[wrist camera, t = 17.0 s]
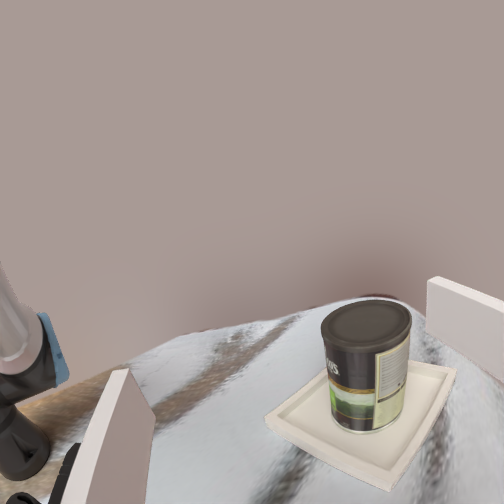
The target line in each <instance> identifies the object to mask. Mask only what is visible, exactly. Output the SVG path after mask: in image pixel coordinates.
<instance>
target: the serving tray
mask: <svg viewBox="0 0 504 504" xmlns="http://www.w3.org/2000/svg"><path fill="white" fill-rule="evenodd" d="M456 374H457V369H454V368H448V367H443V366H438V365H432V364H427V363H422V362H418V361H413V360H408V371H407V380H406V389H405V396H404V407H403V411H402V413H401V415H400V417H399V418H398V419H397V421H396V422H394V423H393V424H392V425H391V426H389V427H388V428H386V429H384V430H382V431H379V432H377V433H372V434H353V433H350V432H347V431H344V430H343V429H341V428H340V427H338V426H337V425H336V424H335V422H334V421H333V419H332V416H331V401H330V390H329V380H328V372H327V367H326V368H325V369H324V370H323V371H321V372H320V373H319V374H318V375H317V376H316V377H314V378H313V379H312V380H311V381H310V382H308V383H307V384H306V385H305V386H304V387H302V388H301V389H300V390H299V391H297V392H296V393H295V394H294V395H292V396H291V397H290V398H288V399H287V400H286V401H285V402H283V403H282V404H281V405H279V406H278V407H277V408H275V409H274V410H273V411H271V412H270V413H268V414H267V415H266V416H264V419H265V422H266V425H267V428H269V429H270V430H272V431H273V432H275V433H276V434H278V435H279V436H281V437H283V438H284V439H286V440H287V441H289V442H291V443H292V444H294V445H295V446H297V447H299V448H300V449H302V450H304V451H306V452H307V453H309V454H311V455H313V456H314V457H316V458H318V459H320V460H322V461H323V462H325V463H327V464H329V465H331V466H333V467H335V468H337V469H339V470H341V471H343V472H345V473H347V474H349V475H351V476H353V477H355V478H357V479H359V480H361V481H364V482H366V483H368V484H370V485H373V486H375V487H377V488H380V489H382V490H385V491H387V492H390V491H391V490H392V489H393V487H394V486H395V485H396V484H397V482H398V481H399V479H400V478H401V477H402V475H403V474H404V473H405V471H406V470H407V468H408V467H409V465H410V464H411V462H412V461H413V459H414V458H415V456H416V455H417V453H418V452H419V450H420V448H421V447H422V445H423V443H424V442H425V440H426V438H427V437H428V435H429V433H430V431H431V430H432V428H433V426H434V424H435V422H436V420H437V418H438V416H439V414H440V412H441V410H442V408H443V406H444V404H445V402H446V400H447V398H448V396H449V394H450V391H451V389H452V387H453V384H454V382H455V378H456Z"/></svg>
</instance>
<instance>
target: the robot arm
mask: <svg viewBox="0 0 504 504" xmlns="http://www.w3.org/2000/svg"><path fill="white" fill-rule="evenodd" d="M425 332H427V333H428V334H430V335H431V336H433V337H434V338H436V339H438V340H439V341H441V342H442V343H444V344H445V345H447V346H448V347H450V348H452V349H453V350H455V351H456V352H458V353H459V354H461V355H462V356H464V357H465V358H467V359H468V360H470V361H472V362H473V363H475V364H476V365H478V366H479V367H481V368H482V369H484V370H485V371H487V372H488V373H490V374H491V375H493V376H494V377H496V378H497V379H499V380H500V381H502V382H503V383H504V302H503V301H501V300H499V299H496V298H494V297H491V296H489V295H486V294H484V293H481V292H479V291H476V290H474V289H471V288H468V287H466V286H463V285H461V284H458V283H456V282H452V281H450V280H447V279H445V278H442V277H439V276H436V277H434V278H432V279H430V280H428V281H427V310H426V326H425ZM68 378H69V370H68V367H67V364H66V363H65V359H64V357H63V355H62V352H61V349H60V346H59V343H58V341H57V338H56V335H55V333H54V330H53V327H52V324H51V321H50V319H49V317H48V315H47V314H46V313H37V314H36V313H35V312H34V311H33V310H32V309H31V308H30V307H29V306H27V305H25V304H23V303H19V301H18V299H17V297H16V295H15V293H14V292H13V289H12V287H11V285H10V283H9V281H8V279H7V277H6V274H5V272H4V270H3V268H2V265H1V263H0V473H1V474H2V475H3V476H4V477H5V478H7V479H9V480H14V481H19V480H24V479H27V478H29V477H31V476H33V475H34V474H35V473H37V472H38V471H39V470H40V469H41V468H42V466H43V465H44V464H45V462H46V460H47V458H48V455H49V451H50V443H49V440H48V438H47V437H46V435H45V434H44V433H43V432H42V430H41V429H40V428H39V427H38V426H37V425H35V424H34V423H33V422H31V421H30V420H29V419H28V418H27V417H26V416H24V415H23V414H22V413H21V412H20V411H19V410H18V409H17V408H16V406H15V405H14V404H15V403H18V402H20V401H23V400H25V399H27V398H30V397H32V396H35V395H37V394H39V393H42V392H44V391H46V390H48V389H51V388H56V387H57V386H58V385H59V384H61V383H63V382H65V381H67V380H68ZM155 420H156V417H155V415H154V413H153V412H152V410H151V408H150V407H149V405H148V403H147V401H146V399H145V398H144V396H143V394H142V392H141V390H140V388H139V387H138V385H137V383H136V381H135V379H134V377H133V375H132V373H131V371H130V369H129V368H128V369H122V370H114V371H112V373H111V376H110V378H109V380H108V382H107V384H106V386H105V389H104V391H103V393H102V395H101V398H100V400H99V402H98V404H97V407H96V409H95V411H94V414H93V416H92V418H91V421H90V423H89V426H88V428H87V431H86V433H85V436H84V438H83V441H82V443H75V444H74V445H73V446H72V447H71V448H70V450H69V451H68V452H67V453H66V456H65V458H64V461H63V463H62V464H63V466H61V469H60V471H59V475H58V476H57V479H56V482H55V485H54V488H53V490H52V493H51V496H50V499H49V502H48V504H145V497H146V487H147V478H148V470H149V462H150V454H151V447H152V440H153V433H154V427H155ZM6 504H41V503H40V502H38V501H37V500H36V499H35V498H34V497H32V496H31V495H30V494H28V493H24V492H19V493H15V494H14V495H12V496H11V497H10V498H9V499H8V501H7V502H6Z"/></svg>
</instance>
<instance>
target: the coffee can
mask: <svg viewBox="0 0 504 504" xmlns="http://www.w3.org/2000/svg"><path fill="white" fill-rule="evenodd" d="M411 325H412V316H411V313H410V312H409V310H408V309H407V308H406V307H404V306H402V305H401V304H398V303H395V302H392V301H386V300H366V301H359V302H355V303H351V304H348V305H345V306H342V307H340V308H338V309H336V310H335V311H333V312H331V313H330V314H329V315H328V316H327V317H326V318H325V319H324V320H323V322H322V324H321V334H322V337H323V340H324V348H325V356H326V363H327V372H328V380H329V390H330V401H331V416H332V419H333V421H334V422H335V424H336V425H337V426H338V427H340V428H341V429H343V430H344V431H347V432H350V433H353V434H372V433H377V432H379V431H382V430H384V429H386V428H388V427H389V426H391V425H392V424H393V423H394V422H396V421H397V419H398V418H399V417H400V415H401V413H402V411H403V407H404V396H405V389H406V380H407V371H408V360H409V346H410V328H411Z"/></svg>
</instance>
